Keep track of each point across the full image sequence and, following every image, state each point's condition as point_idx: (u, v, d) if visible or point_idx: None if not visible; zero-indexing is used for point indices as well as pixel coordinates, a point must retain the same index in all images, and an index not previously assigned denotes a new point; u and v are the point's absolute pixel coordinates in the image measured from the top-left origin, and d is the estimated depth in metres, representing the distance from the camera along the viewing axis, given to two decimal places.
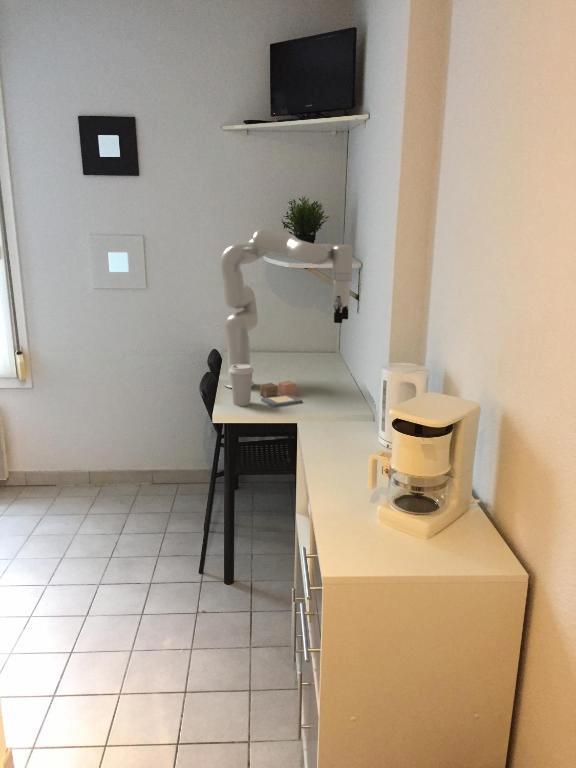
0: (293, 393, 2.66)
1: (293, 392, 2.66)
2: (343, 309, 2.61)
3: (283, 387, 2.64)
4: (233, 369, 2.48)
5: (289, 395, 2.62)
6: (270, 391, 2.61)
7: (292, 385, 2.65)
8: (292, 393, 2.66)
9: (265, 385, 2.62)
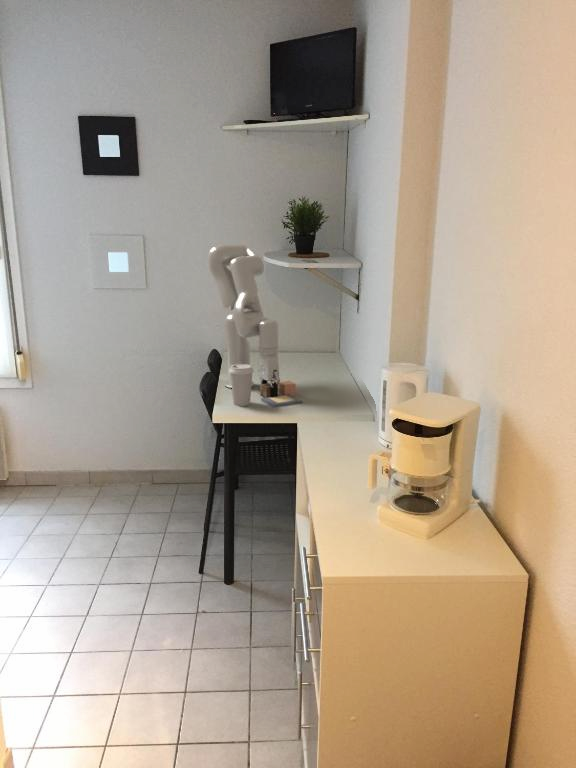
0: (293, 393, 2.66)
1: (293, 392, 2.66)
2: (264, 383, 2.66)
3: (283, 387, 2.64)
4: (233, 369, 2.48)
5: (289, 395, 2.62)
6: None
7: (292, 385, 2.65)
8: (292, 393, 2.66)
9: (265, 385, 2.62)
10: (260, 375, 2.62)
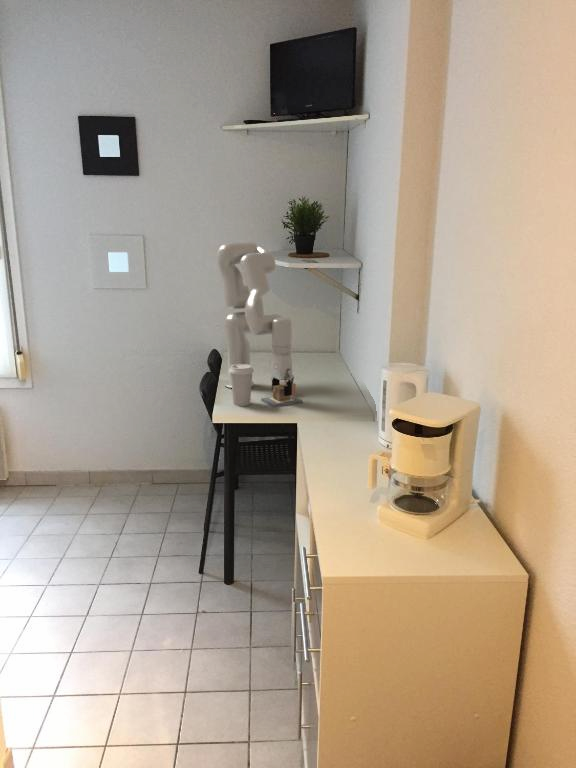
0: (293, 393, 2.66)
1: (293, 392, 2.66)
2: (275, 380, 2.59)
3: None
4: (233, 369, 2.48)
5: None
6: (283, 393, 2.54)
7: (292, 385, 2.65)
8: (292, 393, 2.66)
9: (278, 387, 2.55)
10: (273, 374, 2.55)
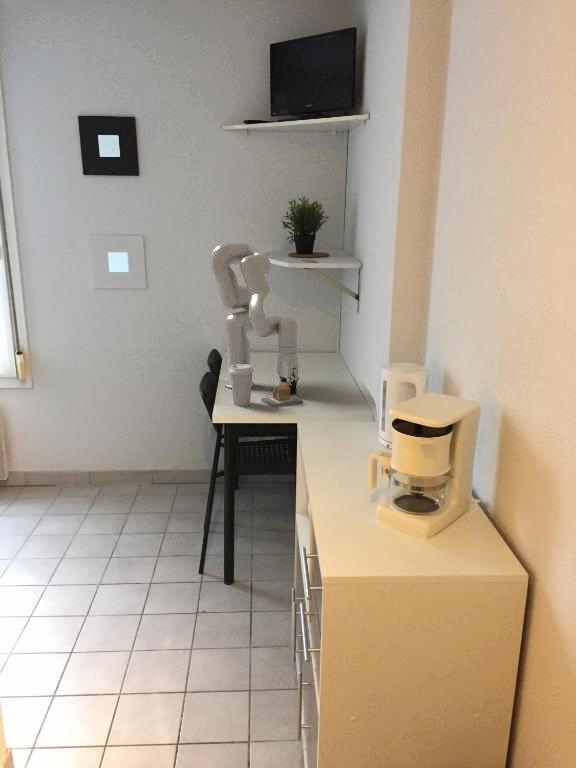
0: None
1: None
2: (284, 381, 2.68)
3: None
4: (233, 369, 2.48)
5: None
6: (283, 393, 2.54)
7: None
8: None
9: (278, 387, 2.55)
10: (279, 373, 2.65)
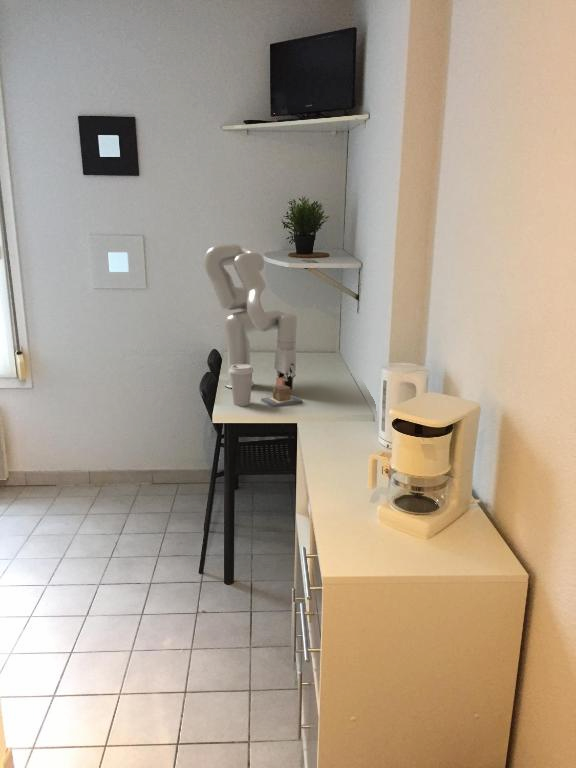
0: None
1: None
2: None
3: (280, 383, 2.64)
4: (233, 369, 2.48)
5: None
6: (283, 393, 2.54)
7: None
8: None
9: (278, 387, 2.55)
10: (277, 367, 2.65)
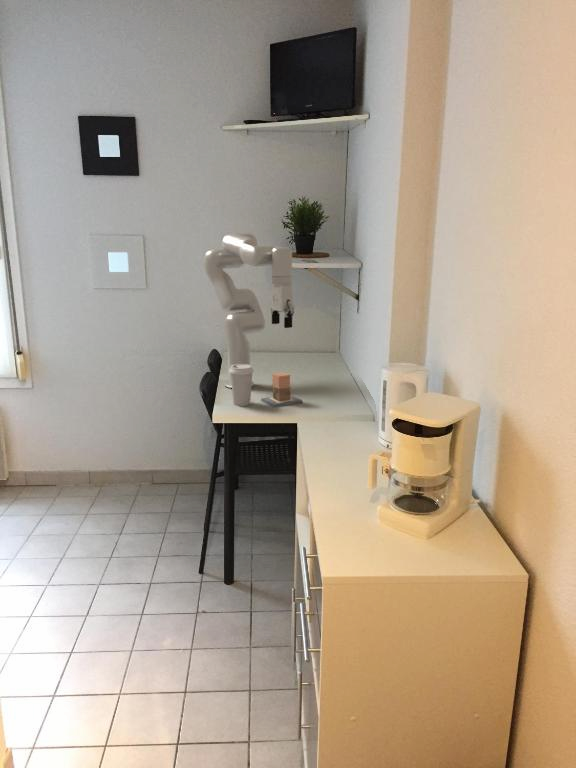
0: (287, 385, 2.54)
1: (287, 384, 2.54)
2: (275, 313, 2.52)
3: (277, 379, 2.53)
4: (233, 369, 2.48)
5: None
6: (283, 393, 2.54)
7: (286, 376, 2.53)
8: (286, 385, 2.54)
9: None
10: (272, 306, 2.48)
